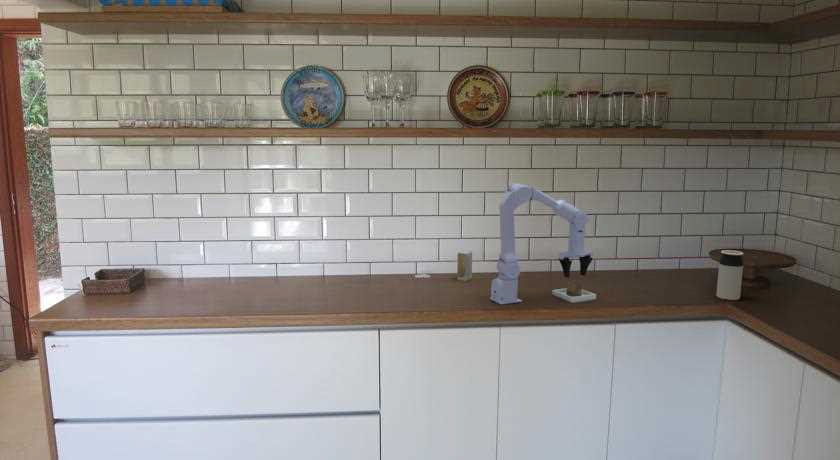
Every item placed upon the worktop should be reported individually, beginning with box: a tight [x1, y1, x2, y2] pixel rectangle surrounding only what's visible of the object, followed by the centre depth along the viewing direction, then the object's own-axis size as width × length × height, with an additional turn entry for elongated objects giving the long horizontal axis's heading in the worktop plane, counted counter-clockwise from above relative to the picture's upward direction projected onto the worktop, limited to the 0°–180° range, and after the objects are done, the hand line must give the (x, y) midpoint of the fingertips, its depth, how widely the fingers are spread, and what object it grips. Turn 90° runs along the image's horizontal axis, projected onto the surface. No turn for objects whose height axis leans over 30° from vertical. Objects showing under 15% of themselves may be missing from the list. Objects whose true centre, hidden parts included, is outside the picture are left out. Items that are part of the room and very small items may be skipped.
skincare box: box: [456, 250, 473, 282], centre depth 239 cm, size 6×4×12 cm
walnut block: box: [566, 281, 583, 297], centre depth 212 cm, size 4×4×5 cm
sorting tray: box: [551, 287, 597, 304], centre depth 213 cm, size 12×12×2 cm
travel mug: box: [716, 249, 745, 301], centre depth 212 cm, size 8×8×18 cm
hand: (574, 276), depth 212 cm, fingers open, 7 cm apart
